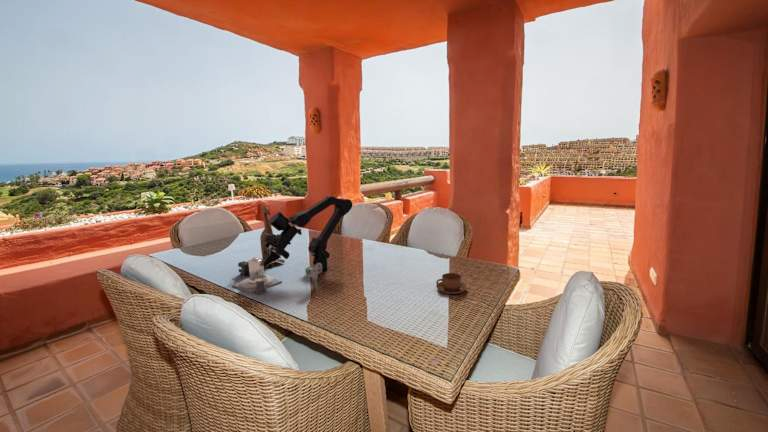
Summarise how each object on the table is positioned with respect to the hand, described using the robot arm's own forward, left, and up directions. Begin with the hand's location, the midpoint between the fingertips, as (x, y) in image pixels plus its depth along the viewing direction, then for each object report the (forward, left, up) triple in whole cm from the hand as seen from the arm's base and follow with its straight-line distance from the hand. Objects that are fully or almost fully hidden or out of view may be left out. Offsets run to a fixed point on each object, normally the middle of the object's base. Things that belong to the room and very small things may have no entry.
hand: (263, 265), depth 153 cm
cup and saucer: (-80, +15, -8) cm, 82 cm away
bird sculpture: (+7, -27, -8) cm, 29 cm away
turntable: (+3, +2, -8) cm, 9 cm away
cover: (+3, +2, -6) cm, 7 cm away
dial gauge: (-2, +12, -8) cm, 14 cm away
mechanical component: (-24, +9, -8) cm, 27 cm away
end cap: (+11, -13, -8) cm, 19 cm away
